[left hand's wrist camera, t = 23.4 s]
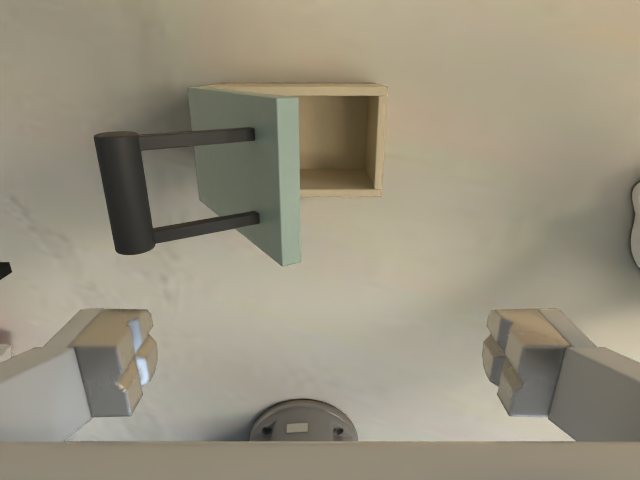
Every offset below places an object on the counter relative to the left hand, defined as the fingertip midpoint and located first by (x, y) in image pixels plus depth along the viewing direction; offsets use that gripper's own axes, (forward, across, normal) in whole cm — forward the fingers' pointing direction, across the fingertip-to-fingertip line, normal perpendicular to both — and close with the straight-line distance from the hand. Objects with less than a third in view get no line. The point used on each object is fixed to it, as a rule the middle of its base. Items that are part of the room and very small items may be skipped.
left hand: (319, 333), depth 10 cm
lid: (+21, -5, 0) cm, 21 cm away
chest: (+37, -2, 0) cm, 37 cm away
